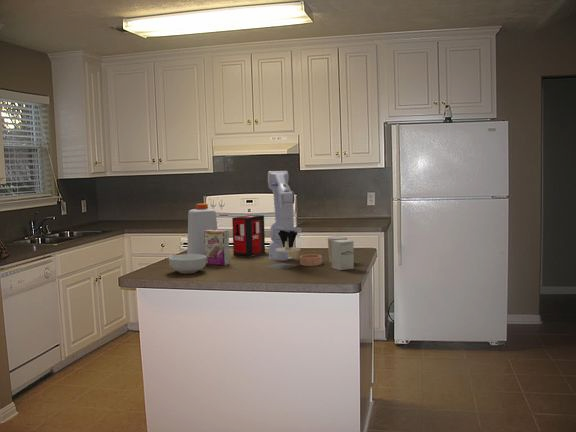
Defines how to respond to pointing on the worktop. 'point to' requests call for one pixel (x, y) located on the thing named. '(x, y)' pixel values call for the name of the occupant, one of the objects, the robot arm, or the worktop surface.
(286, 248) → the lid
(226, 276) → the worktop surface
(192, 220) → the plastic bottle
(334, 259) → the supplement box
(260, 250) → the cleaning product box
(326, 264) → the worktop surface
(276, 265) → the mat
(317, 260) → the ramekin
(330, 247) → the coffee cup
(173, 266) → the cereal bowl
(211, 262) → the candy bar box
